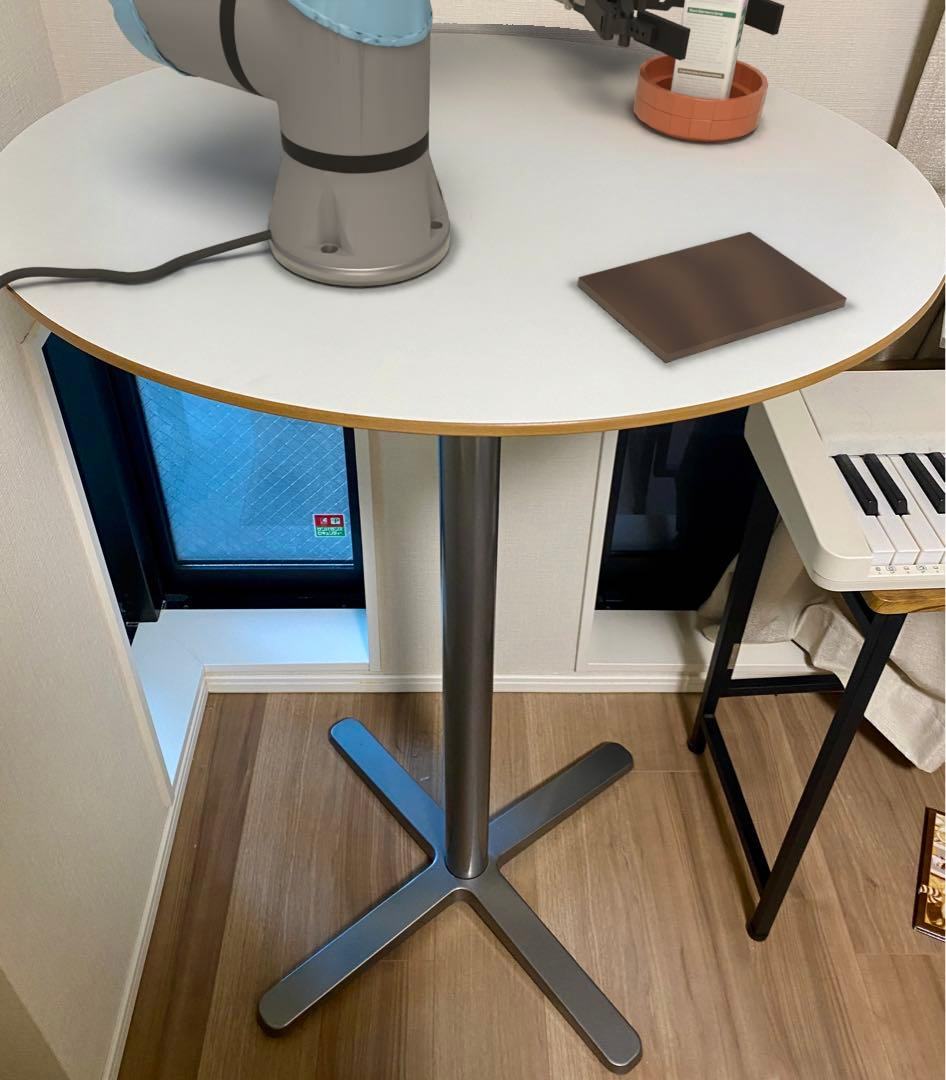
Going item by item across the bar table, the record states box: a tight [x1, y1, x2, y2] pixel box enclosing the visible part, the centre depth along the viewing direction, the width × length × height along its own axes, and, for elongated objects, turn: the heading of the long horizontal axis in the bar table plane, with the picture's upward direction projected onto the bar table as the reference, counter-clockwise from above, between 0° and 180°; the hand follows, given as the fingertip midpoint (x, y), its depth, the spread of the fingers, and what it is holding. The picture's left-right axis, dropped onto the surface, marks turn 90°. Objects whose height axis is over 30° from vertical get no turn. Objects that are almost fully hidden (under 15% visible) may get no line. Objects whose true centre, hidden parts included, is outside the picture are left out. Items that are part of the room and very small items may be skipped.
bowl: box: [633, 53, 769, 143], centre depth 104 cm, size 13×13×4 cm
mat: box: [577, 231, 847, 363], centre depth 80 cm, size 18×12×1 cm, turn 119°
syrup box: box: [670, 0, 748, 99], centre depth 100 cm, size 6×6×14 cm
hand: (733, 32), depth 98 cm, fingers open, 13 cm apart
